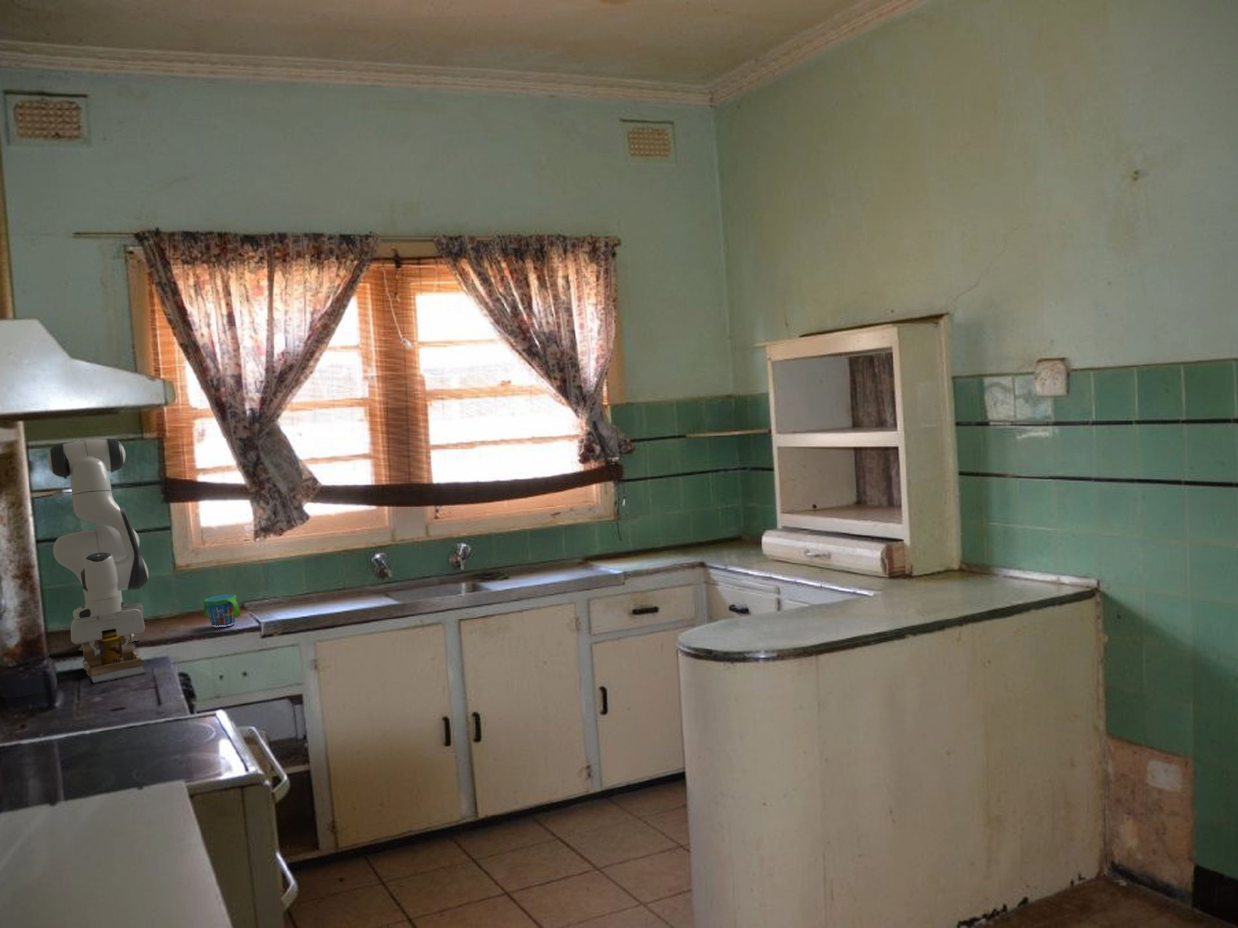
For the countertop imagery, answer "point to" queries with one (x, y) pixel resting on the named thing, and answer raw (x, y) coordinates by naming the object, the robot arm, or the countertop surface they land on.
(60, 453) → the robot arm
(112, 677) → the mat
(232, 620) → the snack cup
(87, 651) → the carton
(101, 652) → the condiment
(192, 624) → the countertop surface
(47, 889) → the countertop surface
